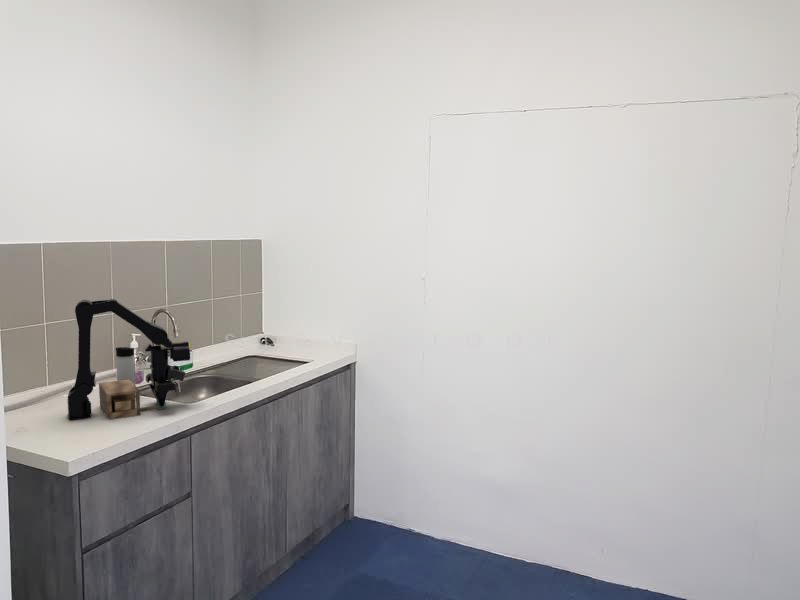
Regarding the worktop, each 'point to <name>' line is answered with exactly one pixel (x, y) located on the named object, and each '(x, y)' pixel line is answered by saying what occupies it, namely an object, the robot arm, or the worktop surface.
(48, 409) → the worktop surface
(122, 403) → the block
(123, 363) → the travel mug
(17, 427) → the worktop surface
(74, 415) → the robot arm
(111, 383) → the brown wooden box
